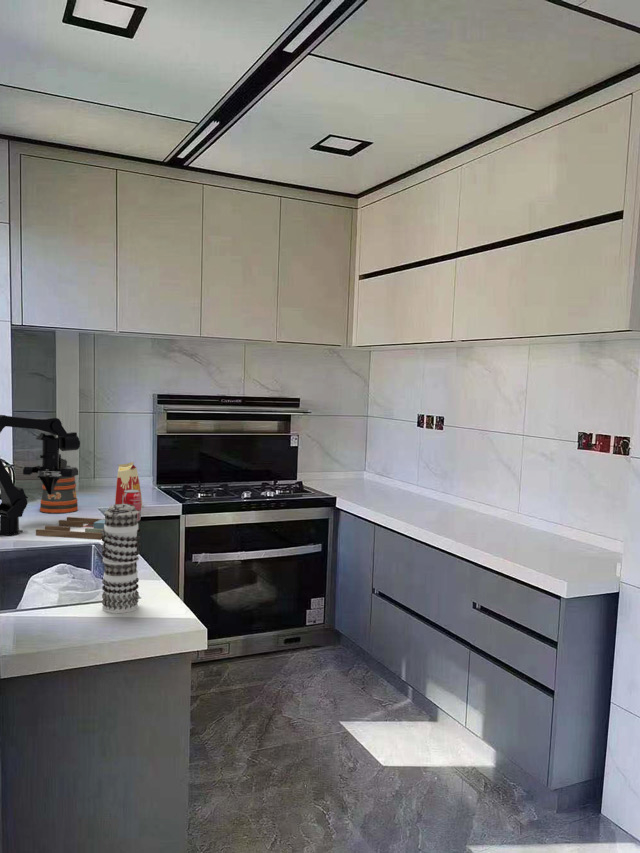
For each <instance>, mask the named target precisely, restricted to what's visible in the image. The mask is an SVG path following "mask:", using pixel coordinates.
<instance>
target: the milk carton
mask: <svg viewBox="0 0 640 853" xmlns="http://www.w3.org/2000/svg"><path fill="white" fill-rule="evenodd" d="M134 463H135V461H132V462H128V463H123V464H121V463H120V464H117V466H118V470H117V475H116V477H117V478H116V485H115V495H114V496H115V499H114V505H115V504H122V496H123V494H124V491H125V490H139V492H140V494H141V509H142V508H143V506H144V505H143V498H142V491H141V484H140V478H139V472H138V468H137V467H136V465H134Z"/></svg>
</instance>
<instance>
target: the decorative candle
mask: <svg viewBox="0 0 640 853" xmlns="http://www.w3.org/2000/svg"><path fill="white" fill-rule="evenodd" d="M138 513H139V511H138V510H136V508H135V507H134V506H133V505H130V504H115V503H114V504H112V505H111V504H110V506H109V507H108V508H107V510H105V511H104V519H105V524H104V528H103V530H102V531H101V532H102V535H103V536H102V537H101V538H102V540H101V541H102V542H103V544H102V545H101V548H102V551H101V556H103V558H102V562H103V563H104V572H103V579H102V584H103V585H102V591H103V592H102V593H101V597H102V600H101V605H102V607H101V608H102V611H103V612H105V613H109V614H123V613H130V612H134V611H136V610H137V609H138V608H139V604H138V603H139V591H138V589H139V582H140V580H139V577H138V573H139V572H138V571H139V570H137V567H138V561H139V560H140V558H139V556H138V555H140V554H141V551H140V550H138V549H137V548H138V547H140V546H141V543H140V542H139V541H140V540H141V539H142V537H141V536H139V535H138V533H141V532H142V529H141V528H140V527H139V523H138V522H137V520H138V517H137V514H138ZM105 532H106V533H105Z"/></svg>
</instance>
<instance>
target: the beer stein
mask: <svg viewBox="0 0 640 853" xmlns="http://www.w3.org/2000/svg"><path fill="white" fill-rule="evenodd" d="M63 459H64V458H63ZM64 460H66V461H67V459H66V458H65V459H64ZM66 467H71V465H67V466H66ZM50 474H51V473H50ZM41 487H42V488H41V489H42V494H41V499H40V504H39V505H40V507H39V511H40V512H41V513H45V514H56V515H57V514H67V513H74V512H77V511H78V510H79V506H78V504H79V503H78V498H77V491H76V490H77V489H76V487H77V485H76V476H72V477H60V478H59V479H58V481H57V483H56V485H55V488H54V491H53V493H52V495H49V494H48V492H47V490H46V488H45V486H44V484H43V483H42V486H41Z"/></svg>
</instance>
